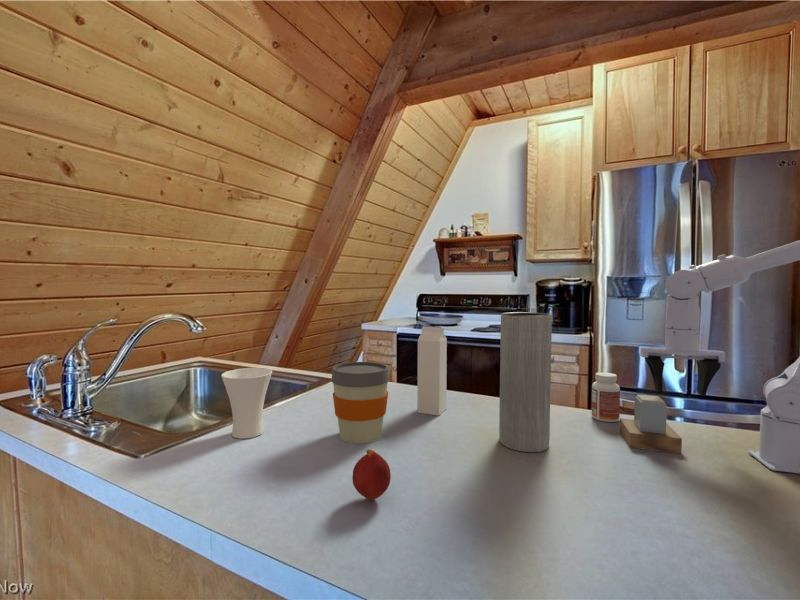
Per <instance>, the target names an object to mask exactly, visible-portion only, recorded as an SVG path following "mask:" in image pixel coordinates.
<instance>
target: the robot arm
mask: <svg viewBox="0 0 800 600" xmlns="http://www.w3.org/2000/svg"><path fill="white" fill-rule="evenodd" d="M716 258H717V259H716V260H712V261H709V262H706V263H702V264H699V265H695V264H692V265H689V266H688V268H689V269H688V270H687V269H679V270H678V271H675V272H674V273H672V274H670V275H668V278H667V279H666V281H665V289H666V292H667V293H668V294H667V297H666V303H667V305H666V306H665V325H664V327H665V330H664V331H665V332H664V346H661V347H660V346H657V347H656V346H649V347H647V346H645V347H644V346H640V351H639V352H640V353H639V354H640V357H642V358H644V360H645V362H646V364H647V366H648V369H649V371H650V374H651V376H652V379H653V384H654V390H655V391H656V392H657V393H661V394H662V393H663V390H664V389H663V385H664V384H663V375H664V369H665V364H666V363H665V361H663V359H679V360H696V369H697V385H696V386H697V387H696V390H697V394H698V395H699V396H701V397H706V396H707V392H708V388H709V386H710V384H711V381H712V380H713V378H714V377H715V375H716V374H717V372H718V371H720V369H721V365H722V364H721V363H720V362H726V352H725V351H722V350H717V349H716V350H714V349H713V350H712V349H700V348H699V344H700V341H699V340H700V319H701V318H700V317H701V316H700V314H701V313H700V312H701V309H700V306H699V299H700V298H699V294H700V292H705V293H711V292H716V291H720V290H722V289H726V288H730V287H733V286H736V285H740V284H743V283H744V284H745V283H746V282H748V280H749V278H750V276H751V275H752V274H753V273H756V272H760V271H764V270H767V269H768V270H769V269H771V268H775V267H780V266H783V265H786V264H790V263H794V262H797V261H800V239H799V240H795V241H794V242H791V243H787V244H783V245H781V246H778V247H775V248H771V249H770V250H766V251H763V252H759V253H757V254H754V255H751V256H747V257H741V256H740V255H739V256H738V255H735V254H731V255H728V256H727V255H726V254H721V255H717V257H716ZM762 393H763V396H764V398H765V401H766V406H764V407H763V408H762V409H760V419H759V421H760V423H759V424H760V425H759V441H758V442H759V444H758V445H759V446H758V447H759V448H758V450H752V449H749V450H748V451H747V452H748V454H750V455H751V456H752V457H754V459H756V460H758V461H759V463H761V464H763V466H766V467H767V468H768V469H769V470H772V471H777V472H784V473H793V474H800V356H798V358H797V359H796V360H795V361H794V362H793V363H791V365H789V366H788V367H786V368H785V369H784V370H783V372H782V373H780V374H779V375H778V376H775V377H773V378H770V379H768V380H767V381H766V382H765V384H764V385H763V388H762Z"/></svg>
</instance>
